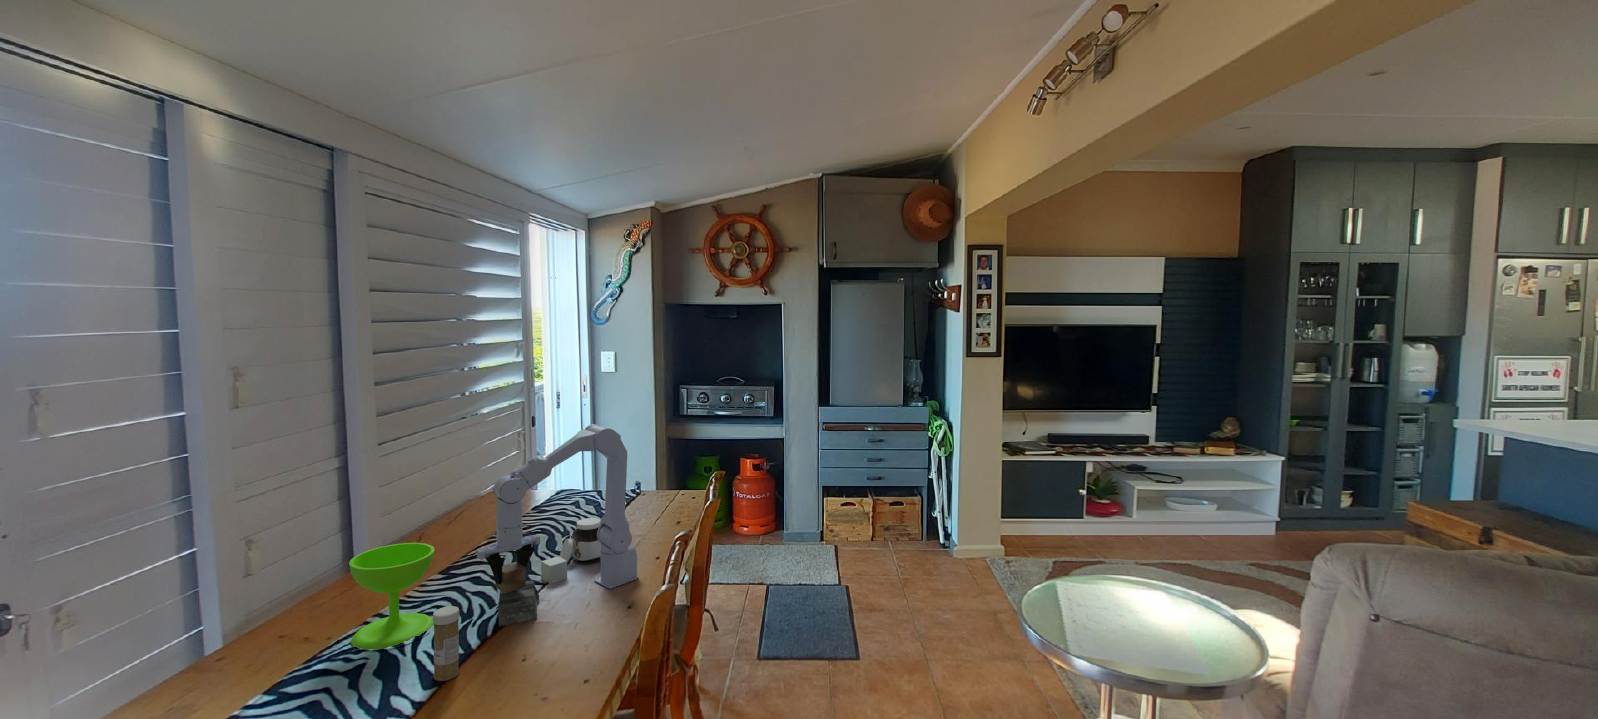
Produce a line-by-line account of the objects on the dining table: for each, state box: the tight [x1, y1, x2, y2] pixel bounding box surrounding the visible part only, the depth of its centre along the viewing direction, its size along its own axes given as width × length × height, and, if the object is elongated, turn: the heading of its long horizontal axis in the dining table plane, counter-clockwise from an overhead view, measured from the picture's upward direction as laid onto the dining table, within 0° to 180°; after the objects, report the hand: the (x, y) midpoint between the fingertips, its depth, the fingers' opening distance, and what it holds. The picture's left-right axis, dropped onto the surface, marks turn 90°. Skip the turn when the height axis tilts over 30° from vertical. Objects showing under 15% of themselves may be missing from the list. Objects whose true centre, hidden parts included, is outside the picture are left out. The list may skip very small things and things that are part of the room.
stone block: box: [498, 580, 540, 627], centre depth 148 cm, size 9×14×5 cm, turn 24°
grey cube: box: [540, 556, 568, 584], centre depth 167 cm, size 5×5×5 cm
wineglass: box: [348, 542, 435, 650], centre depth 135 cm, size 16×16×18 cm
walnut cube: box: [495, 561, 527, 594], centre depth 147 cm, size 5×5×5 cm
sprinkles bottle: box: [432, 605, 460, 682], centre depth 119 cm, size 5×5×13 cm
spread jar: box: [559, 517, 601, 565], centre depth 180 cm, size 12×11×12 cm
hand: (509, 579), depth 147 cm, fingers closed on walnut cube, 5 cm apart
